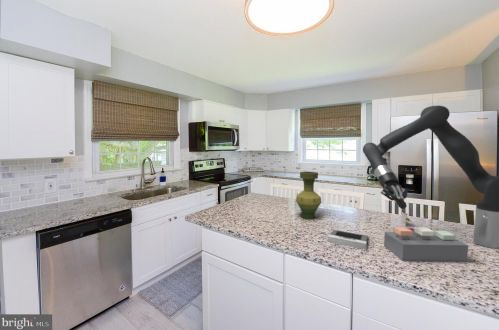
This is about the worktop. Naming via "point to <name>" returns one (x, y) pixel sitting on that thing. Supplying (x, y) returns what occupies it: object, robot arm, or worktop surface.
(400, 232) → the terracotta key
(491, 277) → the worktop surface
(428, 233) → the cream key
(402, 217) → the architectural model
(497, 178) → the robot arm
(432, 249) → the key console
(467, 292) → the worktop surface
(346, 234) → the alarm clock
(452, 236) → the sage key
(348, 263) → the worktop surface
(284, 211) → the worktop surface
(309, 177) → the vase
